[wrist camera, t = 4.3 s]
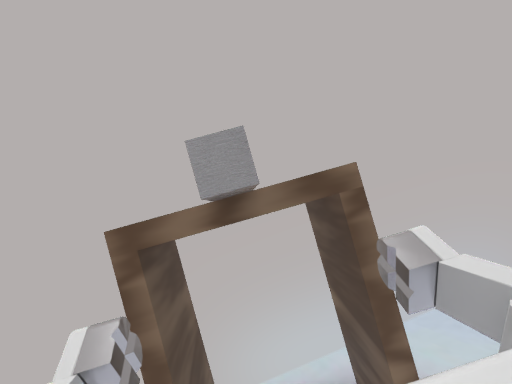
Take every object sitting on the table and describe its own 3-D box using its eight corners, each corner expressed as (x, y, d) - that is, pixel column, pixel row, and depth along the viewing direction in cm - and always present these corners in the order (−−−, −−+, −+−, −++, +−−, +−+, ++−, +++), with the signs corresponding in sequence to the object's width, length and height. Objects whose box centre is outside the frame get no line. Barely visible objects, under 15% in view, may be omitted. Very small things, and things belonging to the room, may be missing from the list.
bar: (252, 194, 37) (242, 159, 37) (268, 180, 17) (247, 103, 17) (216, 203, 36) (207, 168, 36) (191, 201, 16) (169, 124, 17)
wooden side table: (375, 388, 39) (315, 176, 40) (450, 488, 26) (356, 161, 26) (211, 441, 38) (152, 222, 39) (196, 576, 24) (103, 232, 25)
